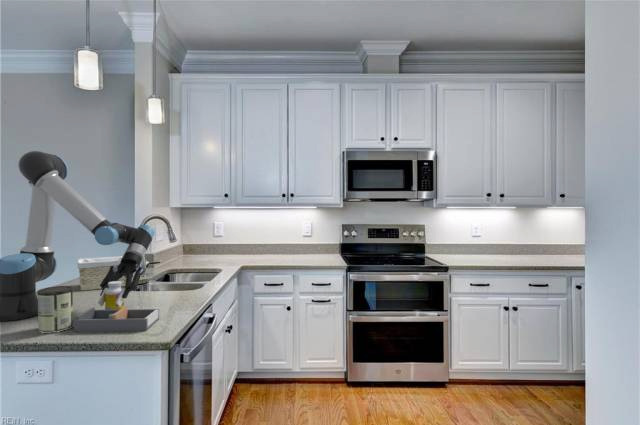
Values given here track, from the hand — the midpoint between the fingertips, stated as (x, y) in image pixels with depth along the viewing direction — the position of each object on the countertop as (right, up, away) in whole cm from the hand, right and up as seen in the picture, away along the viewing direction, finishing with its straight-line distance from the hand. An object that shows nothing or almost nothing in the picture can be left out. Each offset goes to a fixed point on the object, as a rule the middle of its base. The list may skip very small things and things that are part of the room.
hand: (109, 304), depth 149 cm
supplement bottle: (0, -5, +4) cm, 6 cm away
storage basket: (-32, -4, +55) cm, 64 cm away
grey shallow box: (+8, -5, -9) cm, 13 cm away
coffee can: (-11, -6, -13) cm, 18 cm away
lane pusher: (+7, -4, -9) cm, 12 cm away
